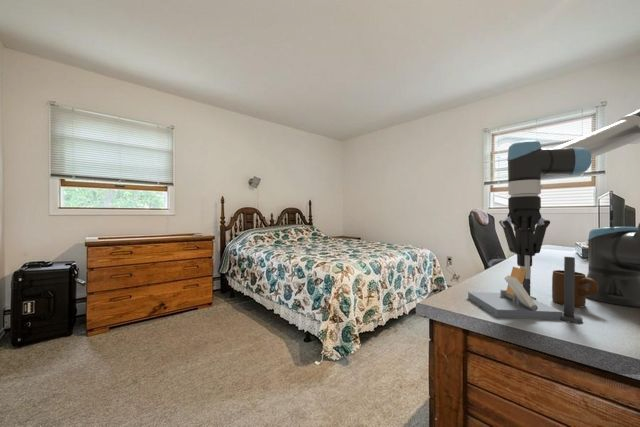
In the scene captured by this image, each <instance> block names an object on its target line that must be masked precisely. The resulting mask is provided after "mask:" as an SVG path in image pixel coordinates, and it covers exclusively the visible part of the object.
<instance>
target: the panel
mask: <svg viewBox="0 0 640 427" xmlns="http://www.w3.org/2000/svg"><path fill="white" fill-rule="evenodd" d="M506 290H507V289H500V292H483V291H482V292H481V291H480V292H479V291H468V292H467V294H468V295H467V298H468V299H469V300H470V301H472V302H473V303H475V304H477V305H478V306H479V307H481V308H482V309H484V310H485V311H487V312H488V313H491V314H492V315H493V316H495V317H496V318H503V319H504V318H506V319H507V318H509V319H529V320H530V319H532V320H533V319H534V320H535V319H536V320H557V319H558V320H559V321H561V320H560V318H561V317H562V313H563V311H561V310H558V309H557V308H555V307H552V306H550V305H548V304H545V303H543V302H542V301H541V302H540V301H539V300H537V299H536V300H534V299H532V298H531V299H532V300H533V302H534V303H535V305H537V307H538V309H537V310H536V311H533V310H531V309H529V308H527V307H525V306H523V305H522V303H521V301H520V300H519V299H518V297H517V296H516V295H513V300H511V299H509V298H507V297H506V296H505V293H506Z"/></svg>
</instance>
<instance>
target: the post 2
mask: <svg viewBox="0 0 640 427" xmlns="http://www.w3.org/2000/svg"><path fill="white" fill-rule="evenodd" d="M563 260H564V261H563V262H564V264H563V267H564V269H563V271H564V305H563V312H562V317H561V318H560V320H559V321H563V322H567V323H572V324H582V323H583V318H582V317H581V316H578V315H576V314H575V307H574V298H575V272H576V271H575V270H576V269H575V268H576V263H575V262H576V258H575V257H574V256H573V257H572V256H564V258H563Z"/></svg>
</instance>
